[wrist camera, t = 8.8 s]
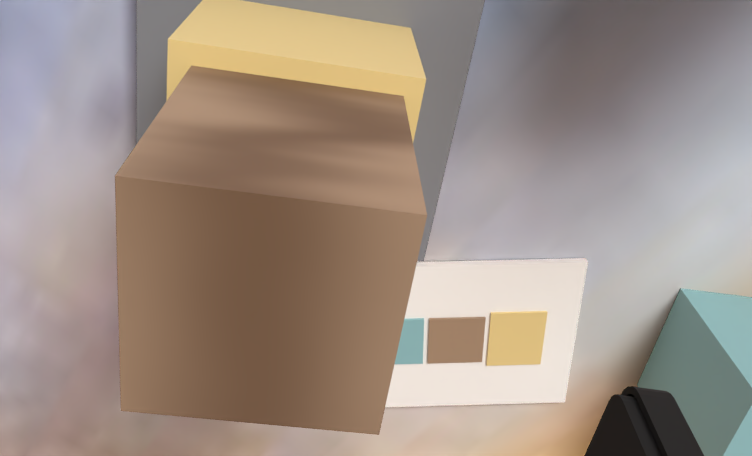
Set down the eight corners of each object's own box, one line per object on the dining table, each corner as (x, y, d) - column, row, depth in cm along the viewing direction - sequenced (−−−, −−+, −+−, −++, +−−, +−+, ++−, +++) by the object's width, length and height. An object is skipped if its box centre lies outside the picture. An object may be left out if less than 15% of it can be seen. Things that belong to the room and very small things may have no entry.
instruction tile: (585, 258, 27) (588, 263, 26) (562, 397, 30) (565, 404, 30) (321, 264, 26) (320, 270, 26) (328, 403, 30) (328, 410, 29)
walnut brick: (403, 96, 17) (427, 215, 12) (371, 270, 19) (379, 434, 14) (191, 65, 16) (114, 175, 11) (185, 248, 19) (120, 411, 13)
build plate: (485, -38, 21) (531, 7, 16) (420, 243, 26) (438, 351, 21) (147, -97, 20) (73, -71, 15) (145, 208, 25) (88, 311, 20)
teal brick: (797, 302, 28) (900, 410, 23) (745, 395, 30) (827, 512, 25) (680, 288, 27) (757, 395, 22) (636, 384, 30) (697, 501, 25)
